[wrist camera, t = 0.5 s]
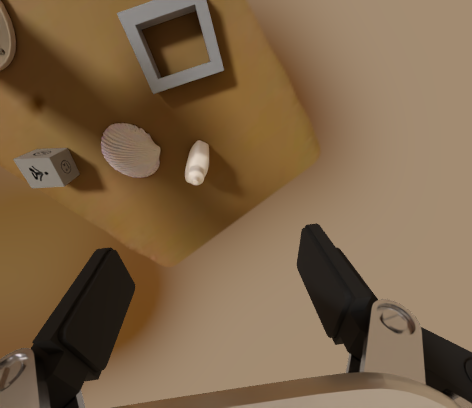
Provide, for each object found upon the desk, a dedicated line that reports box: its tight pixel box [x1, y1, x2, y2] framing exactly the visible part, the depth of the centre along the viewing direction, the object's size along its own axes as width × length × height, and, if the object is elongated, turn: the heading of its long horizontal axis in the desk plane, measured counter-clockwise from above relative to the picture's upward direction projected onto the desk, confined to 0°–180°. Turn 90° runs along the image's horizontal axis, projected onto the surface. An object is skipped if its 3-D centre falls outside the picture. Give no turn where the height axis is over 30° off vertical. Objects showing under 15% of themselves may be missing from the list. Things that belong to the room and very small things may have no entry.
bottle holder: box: [117, 0, 224, 94], centre depth 28 cm, size 11×9×3 cm
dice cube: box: [13, 148, 80, 188], centre depth 34 cm, size 5×5×5 cm
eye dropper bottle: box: [185, 140, 209, 185], centre depth 33 cm, size 4×6×12 cm
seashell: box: [101, 123, 161, 178], centre depth 35 cm, size 10×6×10 cm
